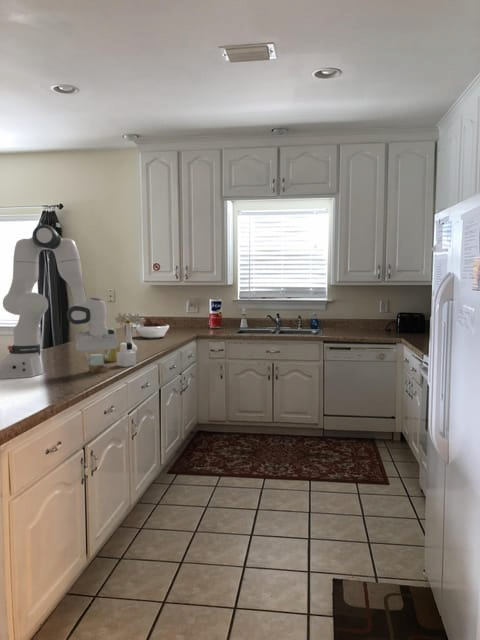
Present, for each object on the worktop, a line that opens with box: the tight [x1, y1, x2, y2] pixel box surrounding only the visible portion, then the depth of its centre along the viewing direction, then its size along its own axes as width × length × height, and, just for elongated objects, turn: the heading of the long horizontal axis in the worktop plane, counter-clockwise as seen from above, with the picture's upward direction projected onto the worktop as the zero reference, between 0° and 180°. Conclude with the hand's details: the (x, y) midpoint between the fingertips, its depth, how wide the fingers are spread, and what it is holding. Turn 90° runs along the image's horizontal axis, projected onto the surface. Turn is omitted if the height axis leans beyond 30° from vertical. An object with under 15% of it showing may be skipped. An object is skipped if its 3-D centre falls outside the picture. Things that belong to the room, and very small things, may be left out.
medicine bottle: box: [116, 342, 137, 368], centre depth 267 cm, size 7×7×12 cm
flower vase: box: [114, 312, 147, 352], centre depth 304 cm, size 13×18×25 cm
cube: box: [89, 353, 104, 366], centre depth 251 cm, size 5×5×5 cm
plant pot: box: [103, 341, 122, 362], centre depth 282 cm, size 10×10×10 cm
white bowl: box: [135, 318, 170, 339], centre depth 387 cm, size 25×25×15 cm
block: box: [88, 363, 108, 374], centre depth 250 cm, size 7×7×3 cm
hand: (97, 359), depth 250 cm, fingers open, 7 cm apart
